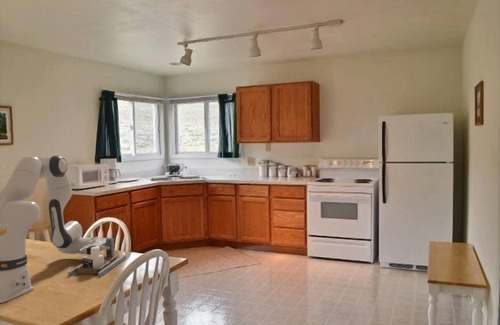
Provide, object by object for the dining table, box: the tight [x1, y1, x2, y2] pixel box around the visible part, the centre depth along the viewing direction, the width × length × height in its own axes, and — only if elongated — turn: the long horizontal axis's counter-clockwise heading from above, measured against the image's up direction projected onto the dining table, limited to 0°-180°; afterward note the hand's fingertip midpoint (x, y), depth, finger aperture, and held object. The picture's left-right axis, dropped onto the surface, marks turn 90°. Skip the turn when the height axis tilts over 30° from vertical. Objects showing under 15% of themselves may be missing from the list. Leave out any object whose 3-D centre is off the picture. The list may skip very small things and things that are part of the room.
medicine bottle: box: [82, 246, 105, 268], centre depth 194 cm, size 7×7×12 cm
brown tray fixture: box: [74, 237, 118, 275], centre depth 201 cm, size 26×12×11 cm, turn 174°
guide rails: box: [67, 253, 127, 278], centre depth 200 cm, size 29×16×2 cm, turn 174°
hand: (111, 246), depth 212 cm, fingers closed on brown tray fixture, 3 cm apart
